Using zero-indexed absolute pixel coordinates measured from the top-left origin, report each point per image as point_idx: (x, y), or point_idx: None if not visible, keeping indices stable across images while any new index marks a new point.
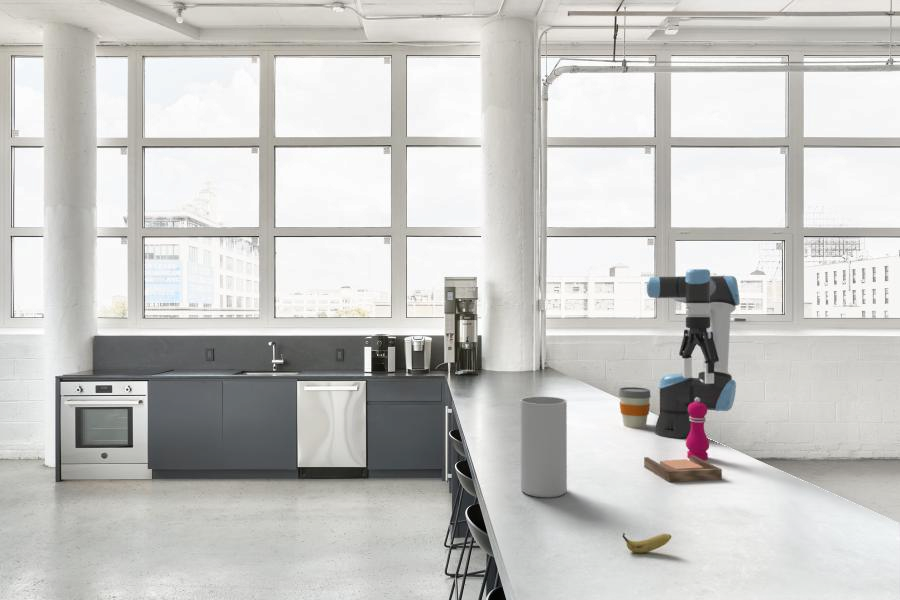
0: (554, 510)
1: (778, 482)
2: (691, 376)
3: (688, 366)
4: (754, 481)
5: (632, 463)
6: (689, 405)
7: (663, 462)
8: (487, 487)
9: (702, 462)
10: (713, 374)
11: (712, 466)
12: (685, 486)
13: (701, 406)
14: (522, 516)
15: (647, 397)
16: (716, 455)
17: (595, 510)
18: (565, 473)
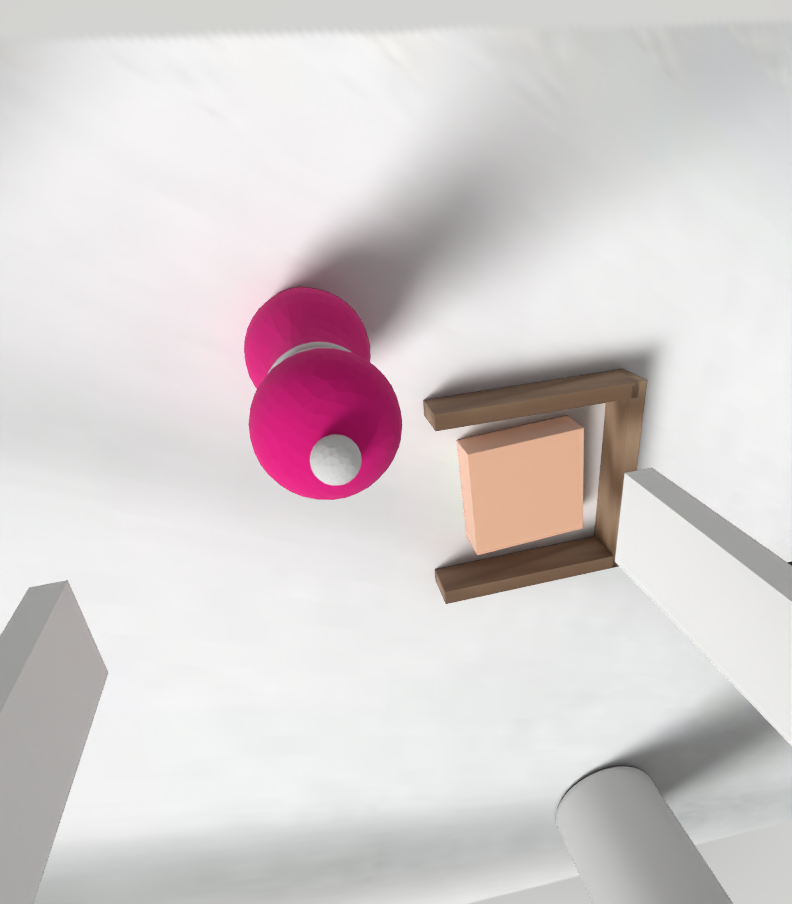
0: (710, 774)
1: (706, 146)
2: (61, 595)
3: (16, 790)
4: (669, 248)
5: (387, 608)
6: (327, 499)
7: (500, 548)
8: (554, 878)
9: (536, 413)
10: (740, 538)
11: (605, 400)
12: None
13: (396, 429)
14: (718, 811)
15: None
16: (247, 206)
17: (734, 716)
18: (665, 812)
